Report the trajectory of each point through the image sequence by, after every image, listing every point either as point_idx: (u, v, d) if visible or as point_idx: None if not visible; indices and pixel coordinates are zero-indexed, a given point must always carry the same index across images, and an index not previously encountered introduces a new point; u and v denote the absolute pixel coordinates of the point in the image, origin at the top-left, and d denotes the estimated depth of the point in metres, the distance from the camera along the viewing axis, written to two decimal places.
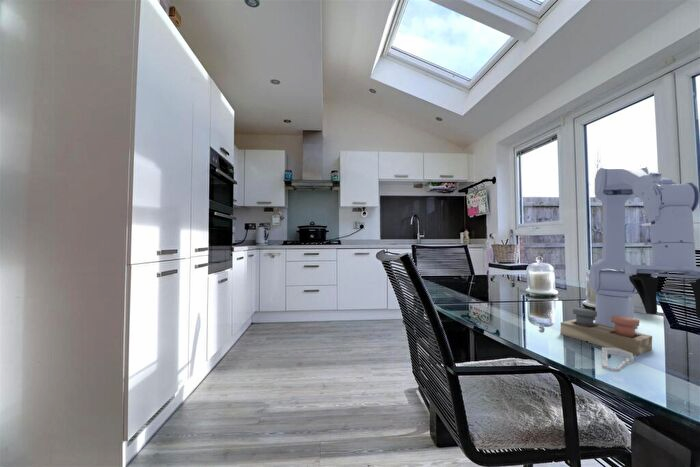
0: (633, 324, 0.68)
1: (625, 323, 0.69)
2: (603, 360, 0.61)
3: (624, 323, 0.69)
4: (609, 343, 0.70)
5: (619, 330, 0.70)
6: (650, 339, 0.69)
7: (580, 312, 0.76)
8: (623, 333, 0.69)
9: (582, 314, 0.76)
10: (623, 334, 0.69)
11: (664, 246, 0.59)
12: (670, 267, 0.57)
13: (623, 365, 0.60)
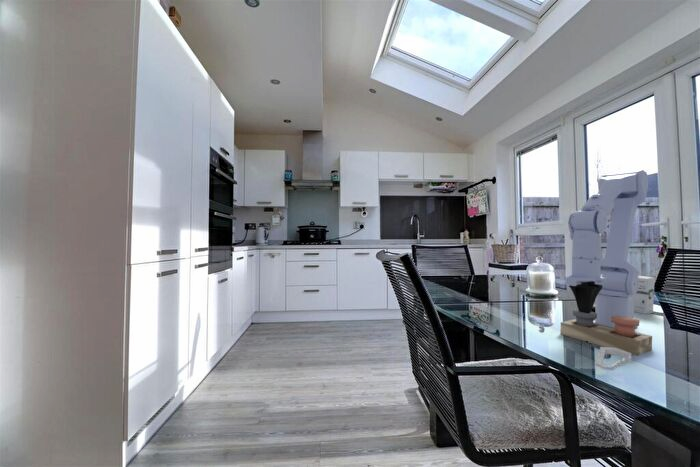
0: (633, 324, 0.68)
1: (625, 323, 0.69)
2: (598, 359, 0.62)
3: (624, 323, 0.69)
4: (609, 343, 0.70)
5: (619, 330, 0.70)
6: (650, 339, 0.69)
7: (580, 314, 0.76)
8: (623, 333, 0.69)
9: (582, 316, 0.76)
10: (623, 334, 0.69)
11: (589, 262, 0.75)
12: (593, 278, 0.74)
13: (618, 364, 0.60)
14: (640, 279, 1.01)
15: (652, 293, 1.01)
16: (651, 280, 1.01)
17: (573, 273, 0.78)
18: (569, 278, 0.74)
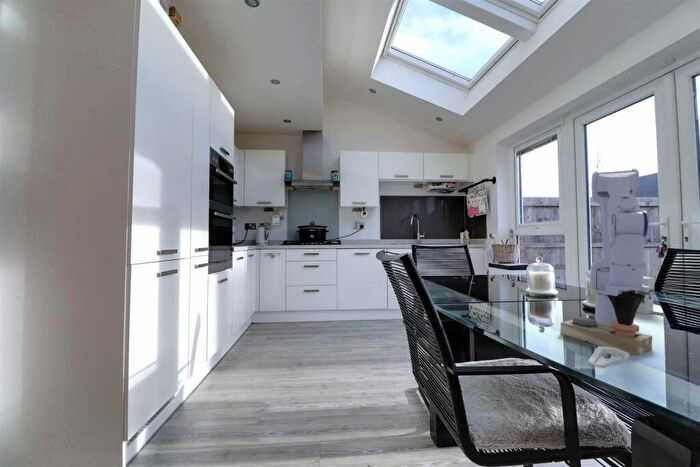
0: (633, 330, 0.68)
1: (625, 329, 0.69)
2: (592, 357, 0.63)
3: (624, 329, 0.69)
4: (609, 343, 0.70)
5: None
6: (650, 339, 0.69)
7: (580, 321, 0.76)
8: None
9: (582, 323, 0.76)
10: None
11: (632, 269, 0.68)
12: (636, 287, 0.67)
13: (611, 363, 0.61)
14: None
15: (652, 293, 1.01)
16: (651, 280, 1.01)
17: (612, 281, 0.71)
18: (609, 287, 0.67)
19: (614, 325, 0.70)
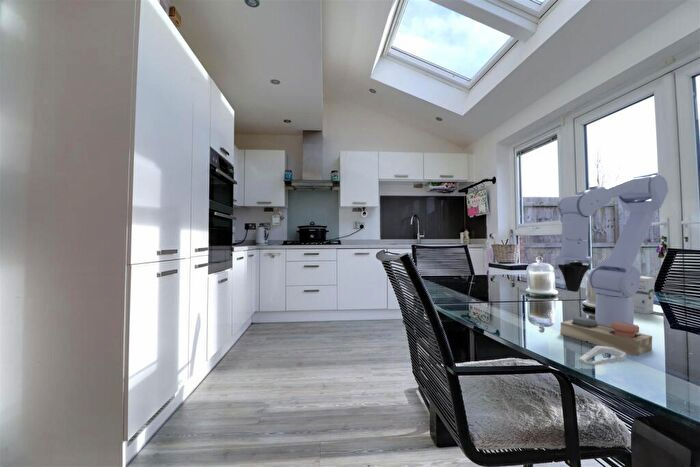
0: (633, 330, 0.68)
1: (625, 329, 0.69)
2: (585, 355, 0.64)
3: (624, 329, 0.69)
4: (609, 343, 0.70)
5: None
6: (650, 339, 0.69)
7: (580, 321, 0.76)
8: None
9: (582, 323, 0.76)
10: None
11: (577, 242, 0.80)
12: (581, 258, 0.79)
13: (604, 361, 0.62)
14: (640, 279, 1.01)
15: (652, 293, 1.01)
16: (651, 280, 1.01)
17: (562, 254, 0.82)
18: (558, 257, 0.79)
19: (614, 326, 0.70)
